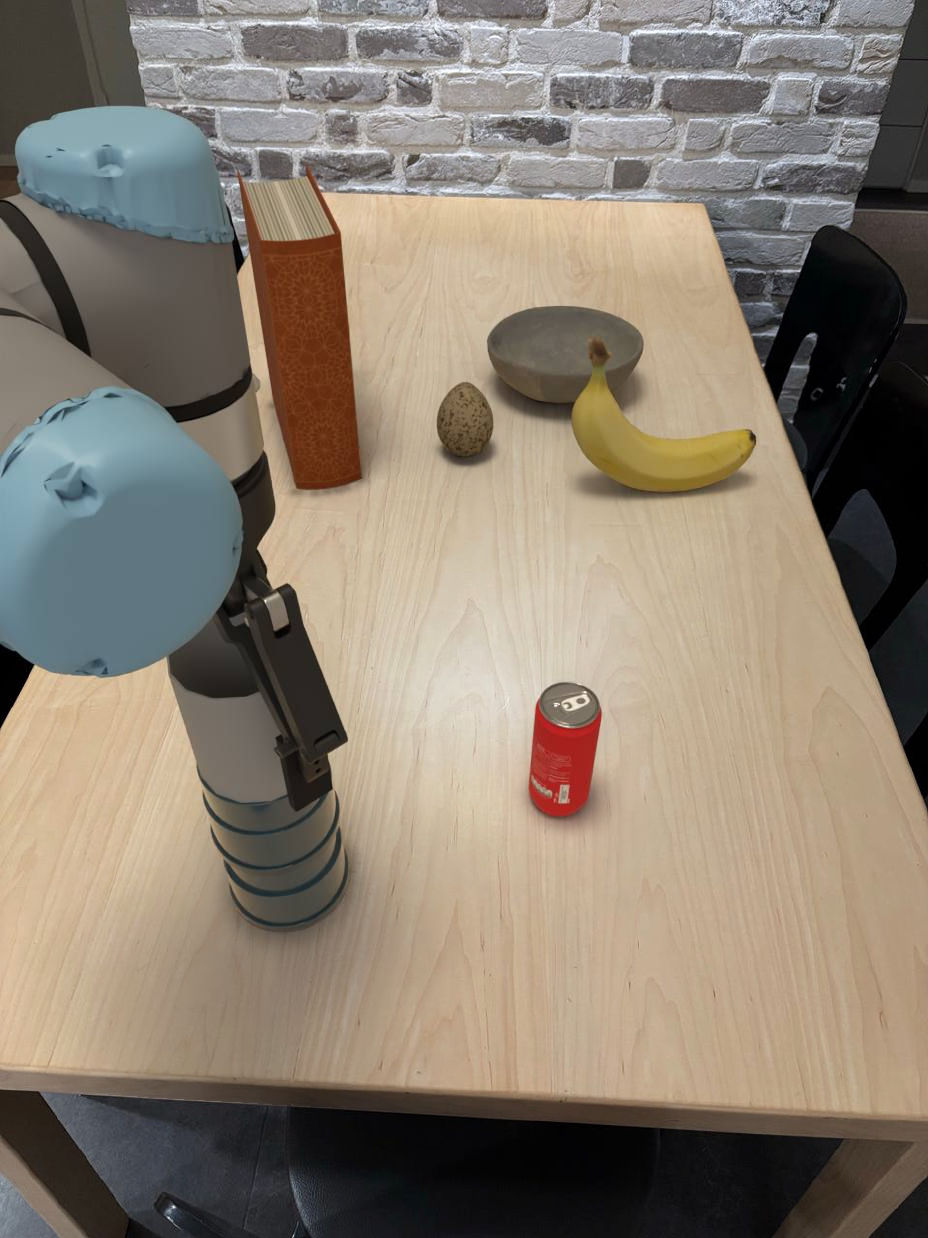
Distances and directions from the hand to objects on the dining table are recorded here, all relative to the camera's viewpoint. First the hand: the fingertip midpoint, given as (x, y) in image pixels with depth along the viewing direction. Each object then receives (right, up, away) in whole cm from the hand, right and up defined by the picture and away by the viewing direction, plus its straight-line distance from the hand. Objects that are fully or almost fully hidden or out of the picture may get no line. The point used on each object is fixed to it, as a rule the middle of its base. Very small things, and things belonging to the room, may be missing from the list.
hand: (255, 731), depth 60 cm
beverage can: (+22, -8, +19) cm, 30 cm away
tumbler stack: (0, -13, +13) cm, 18 cm away
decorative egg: (+14, +29, +57) cm, 65 cm away
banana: (+38, +24, +52) cm, 68 cm away
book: (-6, +31, +59) cm, 67 cm away
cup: (0, -2, +2) cm, 2 cm away
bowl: (+28, +40, +69) cm, 85 cm away
